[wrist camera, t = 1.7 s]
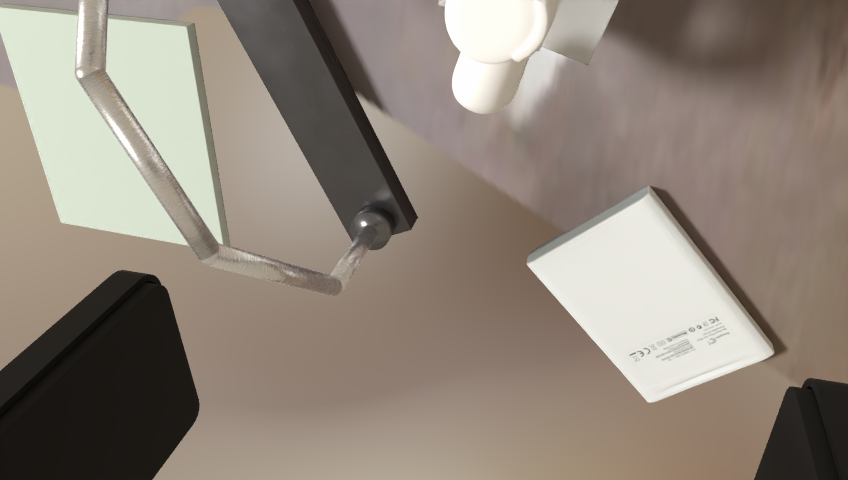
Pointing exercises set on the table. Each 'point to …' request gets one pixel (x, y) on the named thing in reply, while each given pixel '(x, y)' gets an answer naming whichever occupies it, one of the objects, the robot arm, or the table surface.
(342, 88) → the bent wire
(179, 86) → the mat
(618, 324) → the external hard drive
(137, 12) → the table surface
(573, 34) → the figurine
